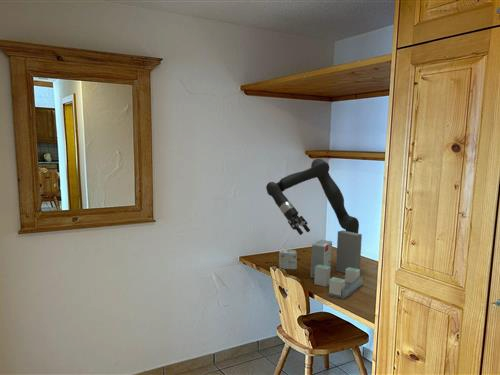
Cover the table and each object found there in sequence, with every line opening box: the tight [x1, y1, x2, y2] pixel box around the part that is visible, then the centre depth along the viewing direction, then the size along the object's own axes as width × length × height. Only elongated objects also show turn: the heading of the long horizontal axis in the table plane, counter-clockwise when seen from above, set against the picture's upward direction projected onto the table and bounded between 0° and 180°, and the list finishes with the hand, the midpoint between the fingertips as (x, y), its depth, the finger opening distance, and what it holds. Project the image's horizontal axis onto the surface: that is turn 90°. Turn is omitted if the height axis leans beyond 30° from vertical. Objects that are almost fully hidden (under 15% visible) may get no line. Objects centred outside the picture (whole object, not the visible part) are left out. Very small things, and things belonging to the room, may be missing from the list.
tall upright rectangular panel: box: [335, 229, 363, 275], centre depth 239 cm, size 14×6×25 cm, turn 41°
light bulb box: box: [278, 249, 298, 270], centre depth 248 cm, size 11×7×11 cm, turn 92°
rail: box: [327, 276, 364, 300], centre depth 212 cm, size 26×9×4 cm, turn 144°
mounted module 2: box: [344, 267, 361, 283], centre depth 220 cm, size 5×6×7 cm
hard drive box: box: [310, 239, 333, 279], centre depth 234 cm, size 16×8×20 cm, turn 151°
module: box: [313, 265, 331, 288], centre depth 220 cm, size 5×7×10 cm
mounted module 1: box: [328, 276, 345, 296], centre depth 203 cm, size 5×6×7 cm
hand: (305, 232), depth 224 cm, fingers open, 8 cm apart
